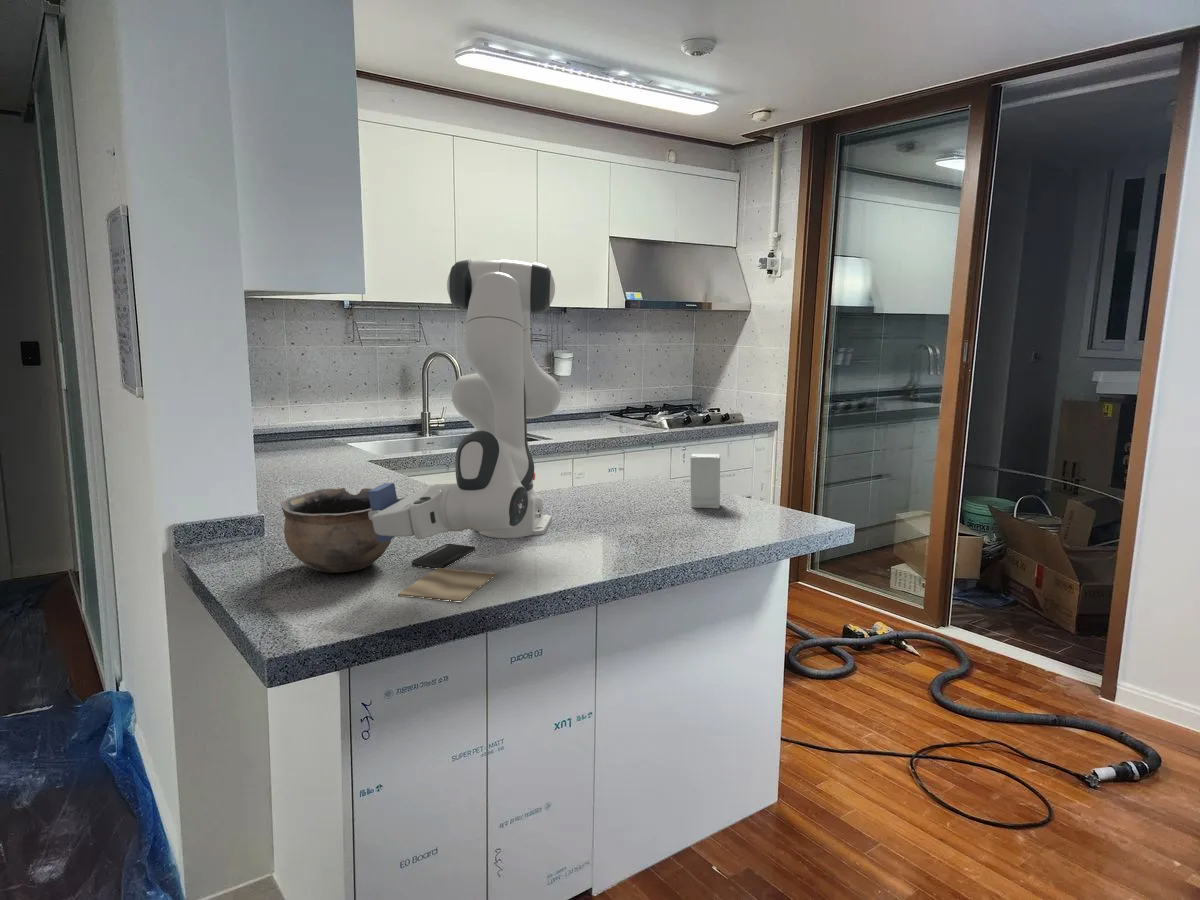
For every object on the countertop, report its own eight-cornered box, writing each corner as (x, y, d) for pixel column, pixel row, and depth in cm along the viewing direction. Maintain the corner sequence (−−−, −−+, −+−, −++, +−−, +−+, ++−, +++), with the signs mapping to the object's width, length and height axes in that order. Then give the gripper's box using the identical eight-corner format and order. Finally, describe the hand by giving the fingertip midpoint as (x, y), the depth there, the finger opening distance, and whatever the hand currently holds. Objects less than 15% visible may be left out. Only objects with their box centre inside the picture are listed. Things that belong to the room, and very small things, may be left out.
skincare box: (719, 504, 219) (721, 453, 217) (719, 509, 213) (721, 457, 211) (690, 503, 221) (692, 452, 218) (689, 508, 215) (690, 455, 212)
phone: (409, 562, 162) (447, 543, 176) (409, 567, 162) (447, 547, 176) (442, 566, 160) (477, 546, 173) (442, 571, 160) (477, 551, 174)
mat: (438, 569, 160) (437, 567, 160) (495, 575, 156) (495, 573, 156) (398, 595, 145) (398, 593, 144) (461, 602, 141) (461, 600, 141)
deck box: (393, 531, 151) (384, 483, 149) (403, 531, 150) (394, 482, 148) (377, 541, 146) (367, 491, 144) (387, 541, 145) (377, 491, 143)
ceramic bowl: (414, 557, 168) (412, 490, 166) (363, 590, 147) (359, 514, 145) (324, 549, 173) (321, 484, 171) (261, 580, 152) (257, 506, 150)
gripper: (468, 475, 151) (408, 478, 156) (411, 508, 133) (345, 509, 137) (473, 506, 153) (413, 507, 157) (417, 542, 134) (352, 542, 139)
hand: (381, 508), depth 147 cm, fingers closed on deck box, 5 cm apart
